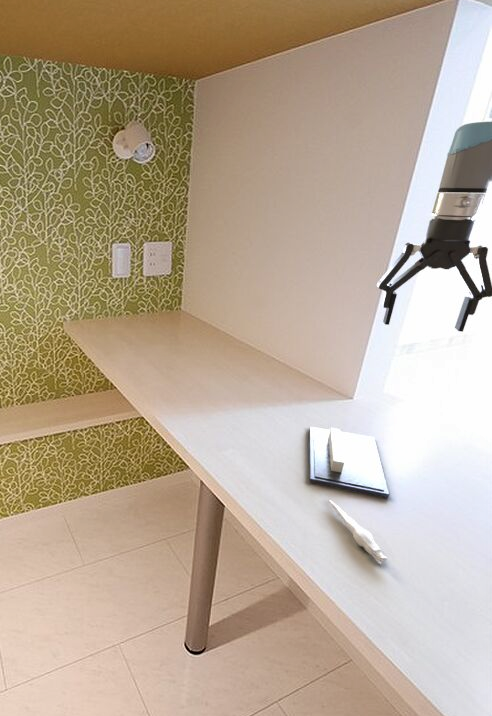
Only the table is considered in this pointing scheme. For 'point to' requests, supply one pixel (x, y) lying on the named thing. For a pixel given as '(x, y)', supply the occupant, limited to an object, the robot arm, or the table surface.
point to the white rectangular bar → (336, 450)
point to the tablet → (347, 463)
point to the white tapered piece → (360, 535)
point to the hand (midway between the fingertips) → (421, 326)
